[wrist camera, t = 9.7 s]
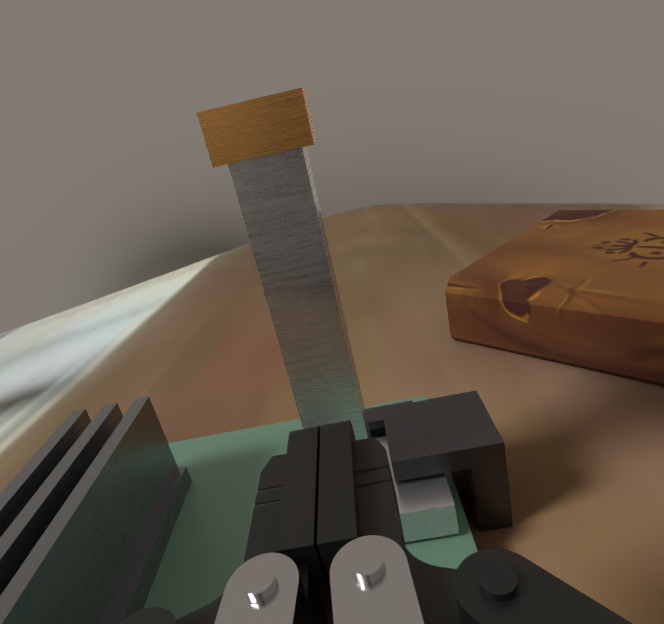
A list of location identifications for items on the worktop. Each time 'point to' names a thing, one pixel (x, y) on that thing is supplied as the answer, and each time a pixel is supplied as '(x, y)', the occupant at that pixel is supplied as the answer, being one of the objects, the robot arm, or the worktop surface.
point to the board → (246, 516)
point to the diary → (571, 293)
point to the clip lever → (306, 279)
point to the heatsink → (181, 501)
